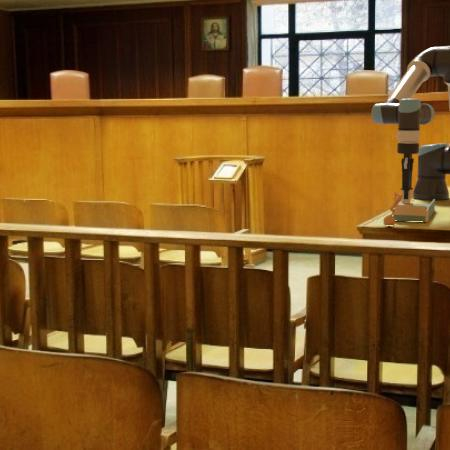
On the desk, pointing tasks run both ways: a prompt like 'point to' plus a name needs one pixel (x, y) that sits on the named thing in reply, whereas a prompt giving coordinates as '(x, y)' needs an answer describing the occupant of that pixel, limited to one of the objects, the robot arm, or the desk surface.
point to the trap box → (414, 212)
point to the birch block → (405, 204)
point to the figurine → (390, 219)
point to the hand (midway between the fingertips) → (406, 207)
